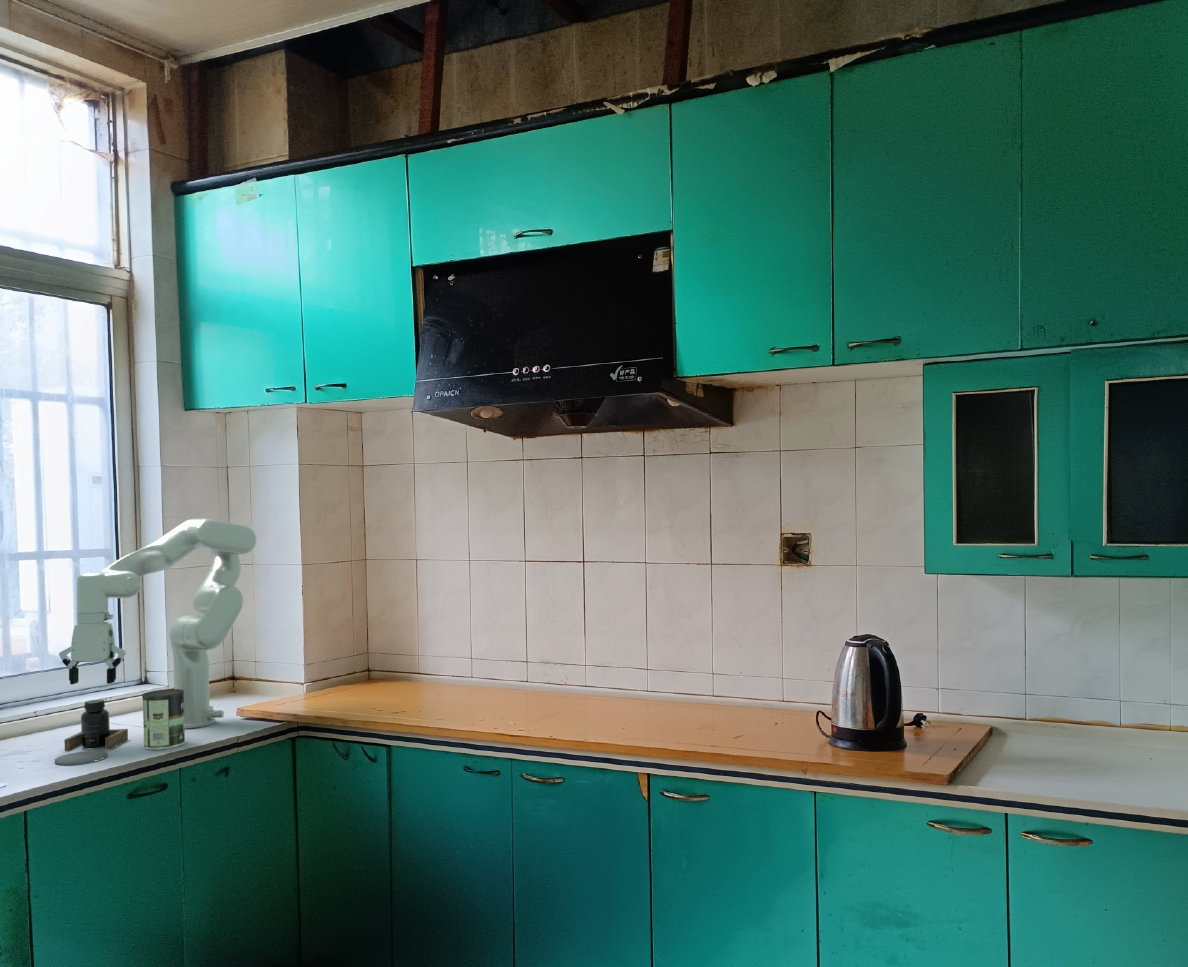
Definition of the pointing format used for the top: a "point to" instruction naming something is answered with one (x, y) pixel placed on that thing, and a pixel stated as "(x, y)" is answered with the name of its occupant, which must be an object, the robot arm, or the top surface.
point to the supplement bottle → (94, 724)
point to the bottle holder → (110, 742)
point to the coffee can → (163, 719)
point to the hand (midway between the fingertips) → (92, 683)
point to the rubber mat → (80, 757)
